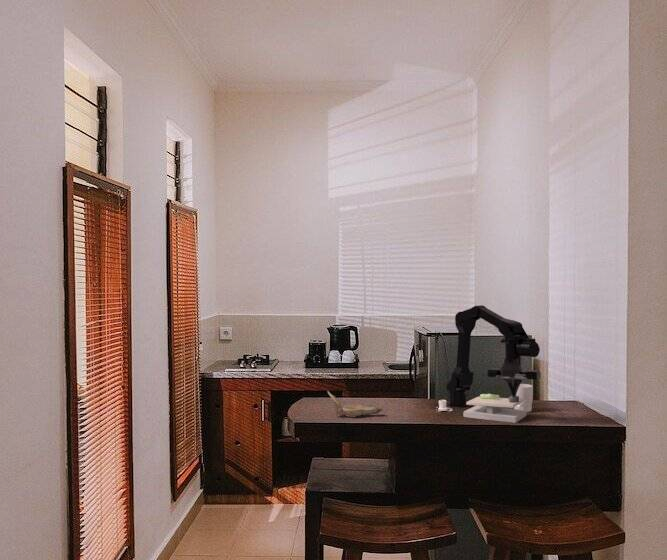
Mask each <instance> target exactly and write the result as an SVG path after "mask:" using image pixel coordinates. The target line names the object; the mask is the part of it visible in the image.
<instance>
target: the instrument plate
mask: <svg viewBox="0 0 667 560" xmlns="http://www.w3.org/2000/svg"><path fill="white" fill-rule="evenodd" d="M522 402H523V399H519V396H515V397H513V396H512V395H509V396H508V397H507V398H506V397H500V395H499V394H492V393H481V394H480V395H479V396H477V397H474V398H472V399H470V400H468V401H467V402H466V406H476V405H478V406H487V407H488V406H494V407H503V408H508V409H514V407H515V406H517V405H519V404H520V403H522Z"/></svg>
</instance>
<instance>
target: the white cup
mask: <svg viewBox="0 0 667 560" xmlns="http://www.w3.org/2000/svg"><path fill="white" fill-rule="evenodd" d="M533 388H534V386H533V385H532V384H528V383H521V384H520V386H519V388H518V391H517V394H516V396H519V399H523V402H522V403H520V404H519V405H517V406H515V407H513V409H517V410H526V413H529V412H532V408H533V395H534V394H533V392H534V391H533V390H534V389H533Z"/></svg>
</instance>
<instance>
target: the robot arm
mask: <svg viewBox="0 0 667 560" xmlns="http://www.w3.org/2000/svg"><path fill="white" fill-rule="evenodd" d="M454 318H455V319H454V323H455V324H454V325H455V327H456V329H457V332H458V340H457V353H456V354H457V355H456V366H455V367H454V369H453V371H452V373H451V377H450V379H449V381H448V382H447V384H446V386H445V387H446V391H447V392H449V404H448V406H452V407H461V408H465V407H467V405H466V402H467V401H469V394H468V393H467V392H468V391H470V390H471V386H472V383H473V382H474V372H473V371H471V370H470V365H469V364H470V355H471V354H470V351H471V337H472V332H473V331H474V329H475V327H476V324H477V321H478V320H480V319H481V320H484V321H485V322H486V323H489V324H490V325H492V326H494V327H495V328H496V329H497V330H498V332H499V333H500V334H501V335H502V336H503V338H502V339H501V340H500V343H501V344H504V349H505V350H504V362H503V364H502V365H501V367H500V368H498V367H492V368H489V369H488V370H487V377H489V378H496V377H497V376H501V377H502V381H505V382H506V384H507V385H508V387H509V390H510V393H511V396H513V397H515V396H516V394H517V391H518V388H519V386H520V384H522V381H525V380H526V379H527V380H534V381H536V380H539V379H540V378H542V377H541V376H542V373H541V371H540V370H537V369H535V370H534V369H528V370H527V371H523V368H522V360H523V357H527V358H537V357H538V356H539V354H540V351H541V350H540V348H541V347H540V345H539V344H538V342H536V338H530V337H529V336H528V334H527V332H526V330H525V329H524V327H523V324H522V323H521V322H520V321H517V320H514V319H509V318H505V317H503V316H502V315H500V314H498V313H496V312H494V311H493V310H491V309H489V308H487V307H486V306H485V305H474V306H472V307H470V308H468V309H465V310H462V311H458V312H457V313H456V314H455V316H454Z"/></svg>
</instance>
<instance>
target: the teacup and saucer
mask: <svg viewBox="0 0 667 560" xmlns="http://www.w3.org/2000/svg"><path fill="white" fill-rule="evenodd" d="M438 407H439V408H438V412H441V411H447V412H452V411H454V410H453V408H451V407H447V400H446V399H438Z"/></svg>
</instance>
